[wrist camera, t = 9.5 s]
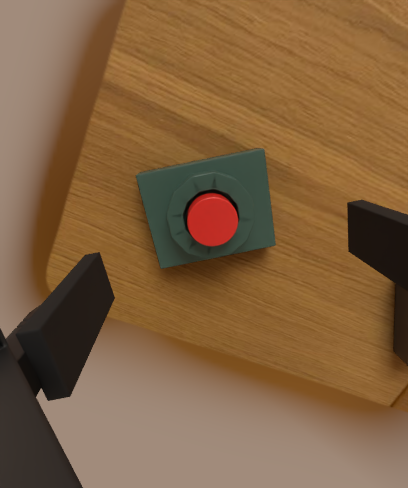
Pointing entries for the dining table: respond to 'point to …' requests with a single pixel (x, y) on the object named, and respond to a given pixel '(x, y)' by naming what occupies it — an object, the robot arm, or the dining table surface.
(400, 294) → the dial panel
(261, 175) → the button block
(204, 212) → the red button
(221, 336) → the dining table surface
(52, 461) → the robot arm
